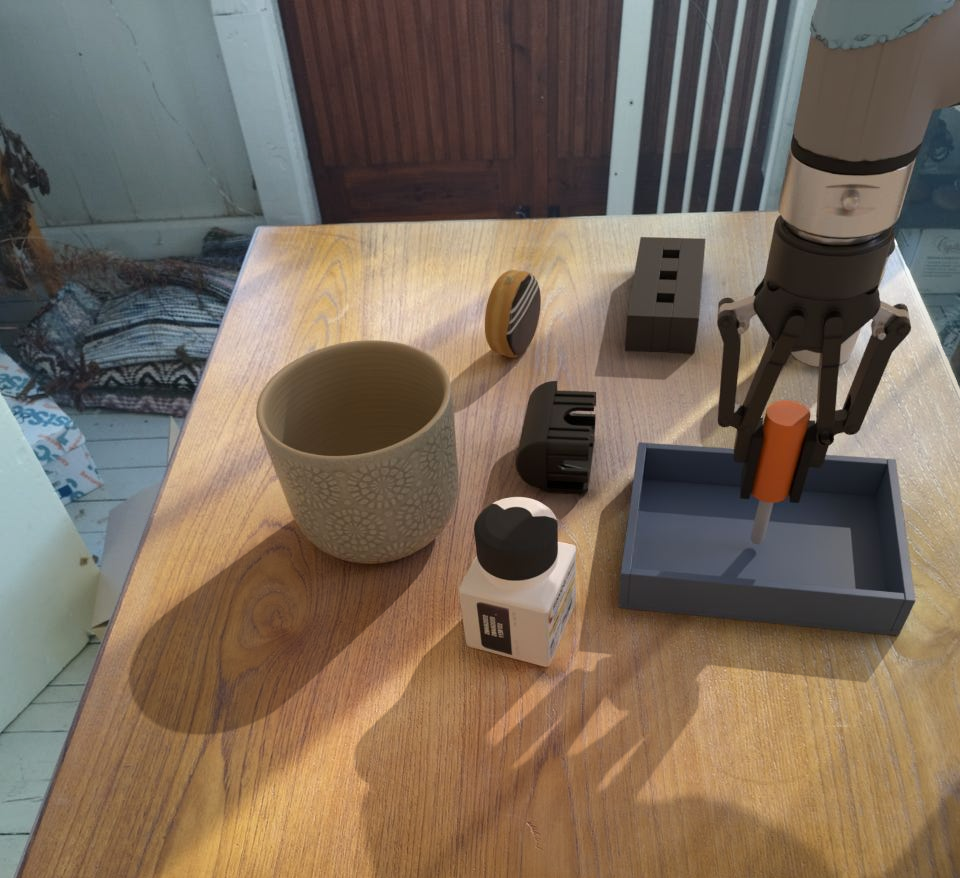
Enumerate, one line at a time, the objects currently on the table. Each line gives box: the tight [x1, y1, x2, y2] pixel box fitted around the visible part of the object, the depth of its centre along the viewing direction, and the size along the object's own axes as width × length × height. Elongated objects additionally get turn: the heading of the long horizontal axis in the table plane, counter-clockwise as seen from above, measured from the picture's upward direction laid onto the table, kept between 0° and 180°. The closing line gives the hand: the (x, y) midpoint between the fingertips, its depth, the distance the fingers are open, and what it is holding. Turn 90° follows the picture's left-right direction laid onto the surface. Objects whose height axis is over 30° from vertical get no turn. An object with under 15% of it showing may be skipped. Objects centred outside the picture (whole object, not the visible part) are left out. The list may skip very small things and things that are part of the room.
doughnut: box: [484, 269, 542, 359], centre depth 100 cm, size 9×4×10 cm, turn 153°
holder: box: [624, 236, 707, 354], centre depth 105 cm, size 8×18×4 cm, turn 169°
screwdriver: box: [750, 399, 811, 544], centre depth 74 cm, size 3×3×14 cm
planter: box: [255, 339, 459, 565], centre depth 81 cm, size 17×17×15 cm
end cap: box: [515, 380, 597, 495], centre depth 88 cm, size 10×7×7 cm
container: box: [458, 496, 577, 668], centre depth 72 cm, size 8×8×13 cm
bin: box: [617, 441, 916, 637], centre depth 79 cm, size 24×18×4 cm
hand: (769, 489), depth 75 cm, fingers closed on screwdriver, 3 cm apart
